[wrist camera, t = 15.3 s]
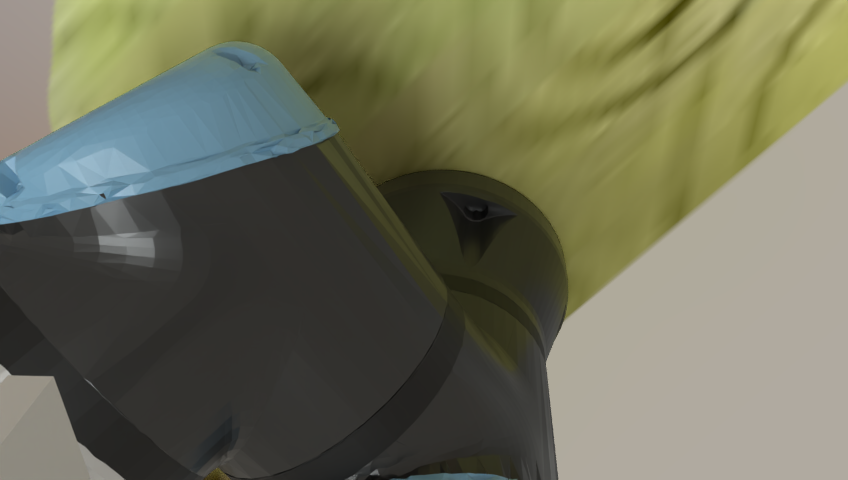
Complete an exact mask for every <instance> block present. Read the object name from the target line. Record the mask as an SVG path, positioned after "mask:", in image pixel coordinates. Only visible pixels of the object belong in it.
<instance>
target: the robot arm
mask: <svg viewBox="0 0 848 480" xmlns="http://www.w3.org/2000/svg"><path fill="white" fill-rule="evenodd" d="M339 131H340V130H339V128H338V126H337V124H336V122H335V121H334V120H333V119H331V118H327V117H325V116H324V115H323V113H322V112H321V111H320V110H319V109H318V107H317V106H316V105H315V104H314V102H313V101H312V100H311V99H310V97H309V96H308V95H307V94H306V93H305V91H304V90H303V89H302V88H301V86H300V85H299V84H298V83H297V82H296V80H295V79H294V78H293V77H292V75H291V74H290V73H289V72H288V71H287V69H286V68H285V67H284V66H283V64H282V63H281V62H280V61H279V60H278V59H277V58H276V57H275V56H274V55H273V54H271V53H270V52H269V51H267V50H265V49H264V48H262V47H260V46H257V45H254V44H251V43H247V42H239V41H232V42H226V43H220V44H218V45H215V46H213V47H210V48H208V49H206V50H205V51H203V52H201V53H199V54H197V55H195V56H193V57H191V58H190V59H188V60H186V61H184V62H182V63H180V64H178V65H177V66H175V67H173V68H171V69H169V70H167V71H165V72H164V73H162V74H160V75H158V76H156V77H154V78H152V79H151V80H149V81H147V82H145V83H143V84H141V85H139V86H138V87H136V88H134V89H132V90H130V91H128V92H127V93H125V94H123V95H121V96H119V97H117V98H115V99H114V100H112V101H110V102H108V103H106V104H104V105H102V106H101V107H99V108H97V109H95V110H93V111H91V112H89V113H88V114H86V115H84V116H82V117H80V118H79V119H77V120H75V121H73V122H71V123H69V124H68V125H66V126H64V127H62V128H60V129H58V130H57V131H55V132H53V133H51V134H49V135H47V136H45V137H44V138H42V139H40V140H38V141H36V142H35V143H33V144H31V145H29V146H28V147H25V148H23V149H21V150H19V151H18V152H16V153H14V154H12V155H10V156H9V157H6V158H5V159H3V160H1V161H0V480H203V479H204V478H205V477H206V476H207V475H208V474H209V473H211V472H212V471H213V470H214V469H216V468H217V467H218V468H219V469H220V470H222V471H223V472H224V473H225V474H226V475H227V476H228V477H229V478H230V479H231V480H558V472H557V463H556V455H555V444H554V436H553V426H552V417H551V407H550V398H549V389H548V380H547V371H546V360H547V358H548V355H549V352H550V350H551V348H552V345H553V342H554V340H555V339H556V337H557V335H558V333H559V331H560V329H561V326H562V324H563V321H564V317H565V314H566V309H567V302H568V279H567V272H566V266H565V260H564V255H563V251H562V248H561V245H560V242H559V240H558V238H557V235H556V233H555V232H554V230H553V228H552V226H551V225H550V223H549V222H548V221H547V219H546V218H545V217H544V215H543V214H542V213H541V212H540V211H539V210H538V209H537V208H536V207H535V206H534V205H533V204H532V203H531V202H530V201H529V200H528V199H526V198H525V197H524V196H522V195H521V194H519V193H518V192H516V191H515V190H513V189H512V188H510V187H508V186H506V185H504V184H502V183H500V182H498V181H495V180H493V179H490V178H487V177H484V176H481V175H477V174H473V173H468V172H461V171H452V170H433V171H423V172H417V173H412V174H408V175H404V176H401V177H398V178H395V179H392V180H390V181H388V182H386V183H384V184H382V185H380V186H378V187H376V186H375V185H374V183H373V182H372V181H371V179H370V178H369V176H368V175H367V174H366V172H365V171H364V170H363V168H362V167H361V165H360V164H359V163H358V161H357V160H356V159H355V157H354V156H353V154H352V153H351V151H350V150H349V149H348V147H347V146H346V144H345V143H344V141H343V140H342V139H341V137H340V136H339V134H338V132H339Z"/></svg>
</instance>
